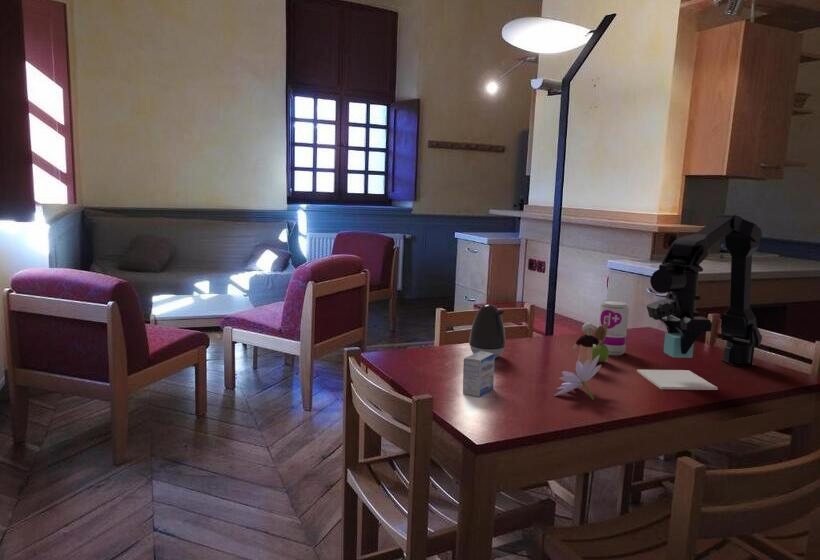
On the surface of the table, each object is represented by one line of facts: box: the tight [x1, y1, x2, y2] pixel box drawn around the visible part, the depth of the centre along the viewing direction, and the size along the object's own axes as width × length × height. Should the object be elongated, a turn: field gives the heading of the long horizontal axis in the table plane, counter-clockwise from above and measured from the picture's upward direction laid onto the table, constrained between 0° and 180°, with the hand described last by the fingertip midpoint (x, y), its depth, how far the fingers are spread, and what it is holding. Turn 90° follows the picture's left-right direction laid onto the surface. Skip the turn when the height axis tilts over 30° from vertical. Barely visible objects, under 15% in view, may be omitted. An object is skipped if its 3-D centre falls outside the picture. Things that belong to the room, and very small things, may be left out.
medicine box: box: [462, 351, 496, 398], centre depth 139 cm, size 8×4×9 cm, turn 148°
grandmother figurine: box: [572, 321, 601, 365], centre depth 159 cm, size 8×4×13 cm, turn 112°
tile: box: [636, 369, 719, 391], centre depth 152 cm, size 14×14×1 cm
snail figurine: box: [592, 318, 610, 363], centre depth 166 cm, size 5×6×12 cm
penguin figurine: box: [468, 303, 507, 359], centre depth 168 cm, size 10×10×15 cm
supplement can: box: [597, 299, 630, 357], centre depth 176 cm, size 8×8×15 cm
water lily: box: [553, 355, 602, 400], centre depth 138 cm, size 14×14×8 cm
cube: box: [663, 332, 695, 359], centre depth 151 cm, size 5×5×5 cm
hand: (678, 350), depth 151 cm, fingers closed on cube, 5 cm apart
